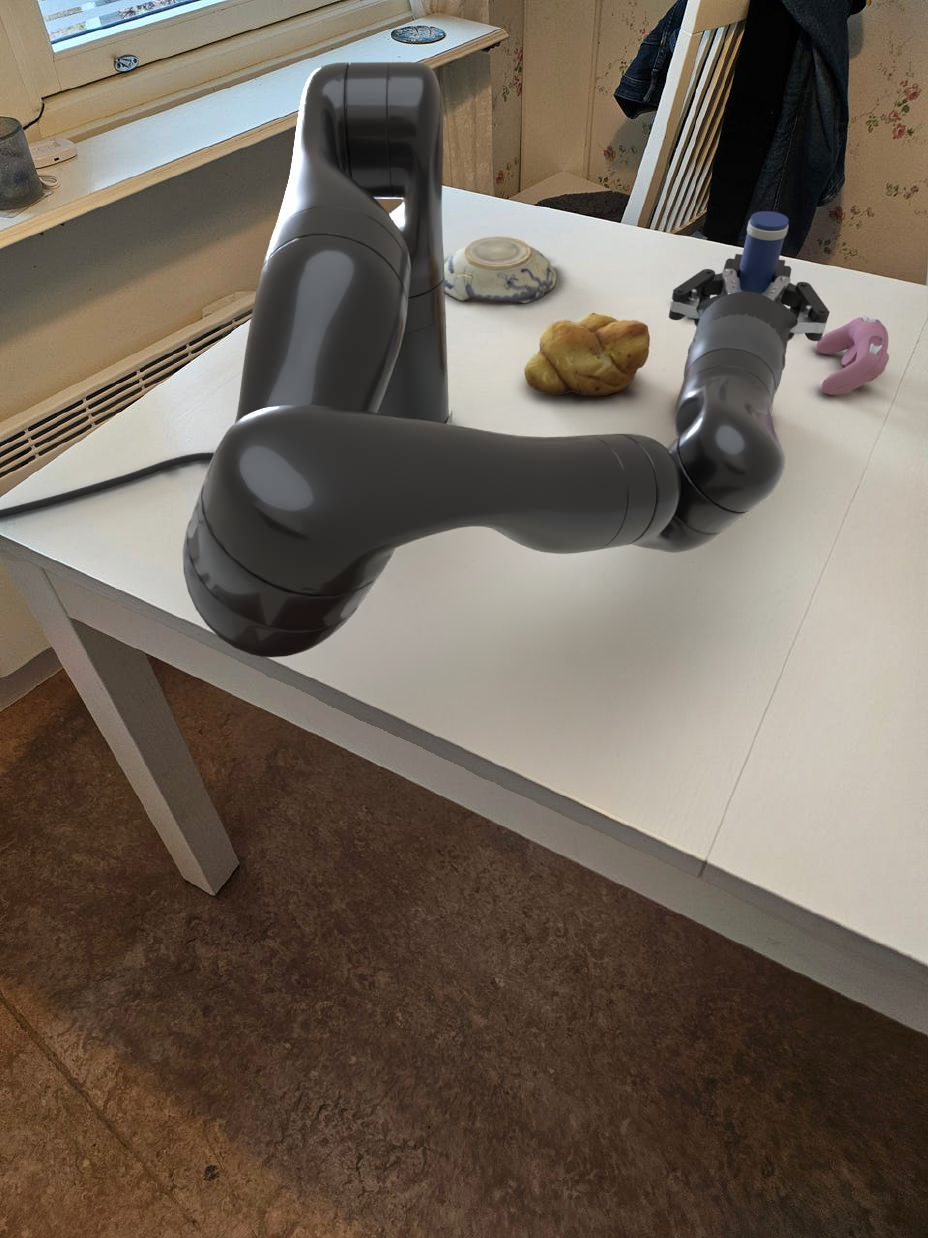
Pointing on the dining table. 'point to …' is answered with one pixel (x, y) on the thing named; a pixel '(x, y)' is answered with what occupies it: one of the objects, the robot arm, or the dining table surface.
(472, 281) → the decorative bowl
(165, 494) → the dining table surface
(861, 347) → the video game controller
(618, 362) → the bread roll
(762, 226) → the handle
